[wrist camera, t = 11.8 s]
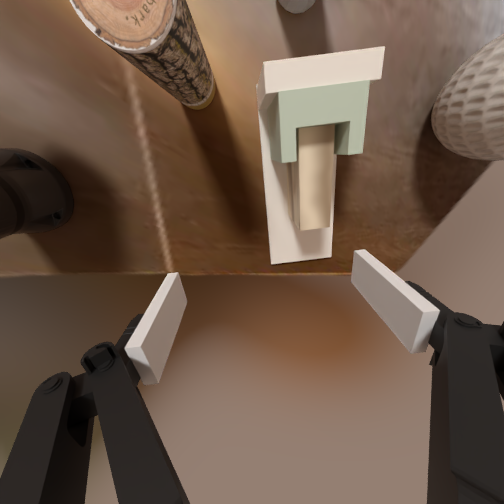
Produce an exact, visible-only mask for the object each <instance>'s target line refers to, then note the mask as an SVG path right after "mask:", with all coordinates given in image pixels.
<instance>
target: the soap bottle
mask: <svg viewBox="0 0 504 504" xmlns="http://www.w3.org/2000/svg"><path fill="white" fill-rule="evenodd" d="M278 1H279V3H280V4H281V5H282V6H283V7H284V9H285V10H287V11H289V12H292V13H294V14H295V13H302V12H305V11H306V10H307V9H309V8H310V7H312V5H313V4H314V2H315V1H316V0H278Z"/></svg>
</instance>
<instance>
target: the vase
mask: <svg viewBox="0 0 504 504" xmlns="http://www.w3.org/2000/svg"><path fill="white" fill-rule="evenodd" d="M431 124H432V128H433V131H434V134H435V136H436V137H437V139H438V140H439V141H440V143H441V144H442V145H443V146H444V147H445V148H447V149H448V150H450V151H452V152H454V153H456V154H457V155H460V156H463V157H467V158H471V159H477V160H491V161H497V160H504V34H502V35H501V36H499V37H498V38H496V39H494V40H493V41H491V42H489V43H488V44H486V45H485V46H484V47H482V48H481V49H480V50H479V51H477V52H476V53H475V54H474V55H472V56H471V57H470V58H469V59H468V60H466V61H465V62H464V63H463V64H462V65H461V66H460V67H459V68H458V69H457V70H456V72H455V73H454V74H453V75H452V76H451V77H450V79H449V80H448V81H447V82H446V84H445V85H444V87H443V88H442V90H441V91H440V93H439V95H438V97H437V99H436V101H435V103H434V106H433V110H432V115H431Z"/></svg>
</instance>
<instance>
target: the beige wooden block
mask: <svg viewBox="0 0 504 504" xmlns="http://www.w3.org/2000/svg"><path fill="white" fill-rule="evenodd" d="M334 135H335V124H331V125H323V126H315V127H307V128H299V129H296V159H297V161H295V162H287V163H286V166H287V193H288V215H289V216H290V217H291V219H292V220H293V221H294V223H295V224H296V226H297V227H298V228H299V230H300V231H302V230H310V229H318V228H327V227H330V213H331V194H332V174H333V154H334Z"/></svg>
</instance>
